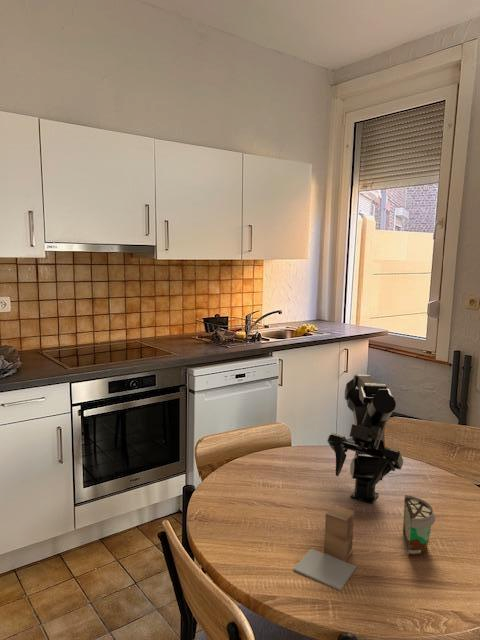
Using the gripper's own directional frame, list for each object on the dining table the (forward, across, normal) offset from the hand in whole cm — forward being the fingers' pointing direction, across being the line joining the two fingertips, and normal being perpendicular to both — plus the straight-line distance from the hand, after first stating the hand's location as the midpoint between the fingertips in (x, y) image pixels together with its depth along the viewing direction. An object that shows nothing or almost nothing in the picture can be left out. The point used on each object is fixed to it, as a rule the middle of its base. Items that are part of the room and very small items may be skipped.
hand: (353, 481), depth 118 cm
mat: (+22, +2, -3) cm, 22 cm away
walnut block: (+17, +1, +2) cm, 17 cm away
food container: (+7, +16, +13) cm, 21 cm away
